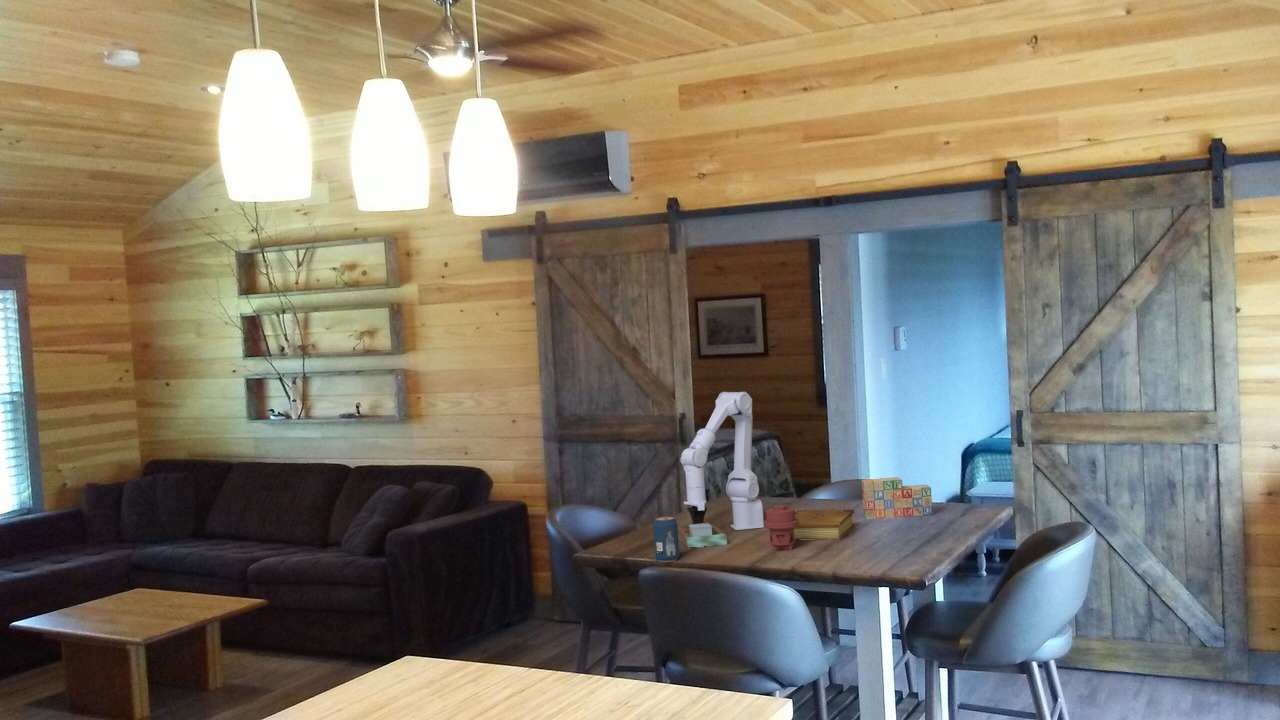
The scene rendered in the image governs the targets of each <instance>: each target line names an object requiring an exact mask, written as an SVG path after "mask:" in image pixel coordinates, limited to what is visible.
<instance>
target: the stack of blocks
mask: <svg viewBox="0 0 1280 720" xmlns="http://www.w3.org/2000/svg"><path fill="white" fill-rule="evenodd" d="M861 497H862V503H863V506H862V507H863V516H864V518H865V519H866V520H871V519H872V520H873V519H876V520H877V519H889V518H890V519H891V518H906V517H908V518H909V517H922V516H933V514H934V513H933V498H932V487H931V486H930V485H928V484H913V485H911V484H910V485H903V479H902V478H900V477H899V476H897V477H896V476H895V477H883V478H882V477H881V478H879V477H878V478H872V479H871V478H869V479H868V478H867V479H861Z"/></svg>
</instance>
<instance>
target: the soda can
mask: <svg viewBox="0 0 1280 720" xmlns="http://www.w3.org/2000/svg"><path fill="white" fill-rule="evenodd" d="M677 525H678V522H677V520H676V517H675V516H670V515H669V516H658V517H656V518H654V522H653V525H652V528H653V542H654V556H655V558H656V559H657V560H656V561H658V562H660V563H668V562H669V563H670V562H675V560H676V561H678V559H679V557H680V544H679V543H680V542H679V541H680V540H679V539H678V526H679V525H678V526H677Z"/></svg>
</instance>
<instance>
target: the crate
mask: <svg viewBox="0 0 1280 720" xmlns="http://www.w3.org/2000/svg"><path fill="white" fill-rule="evenodd" d="M688 528H689V531H688V533H689V535H690V536H691V537H697V536H707V535H712V526H711V525H710V524H709V523H701V524H693V523H692V524H691V523H690V524H688Z"/></svg>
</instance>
